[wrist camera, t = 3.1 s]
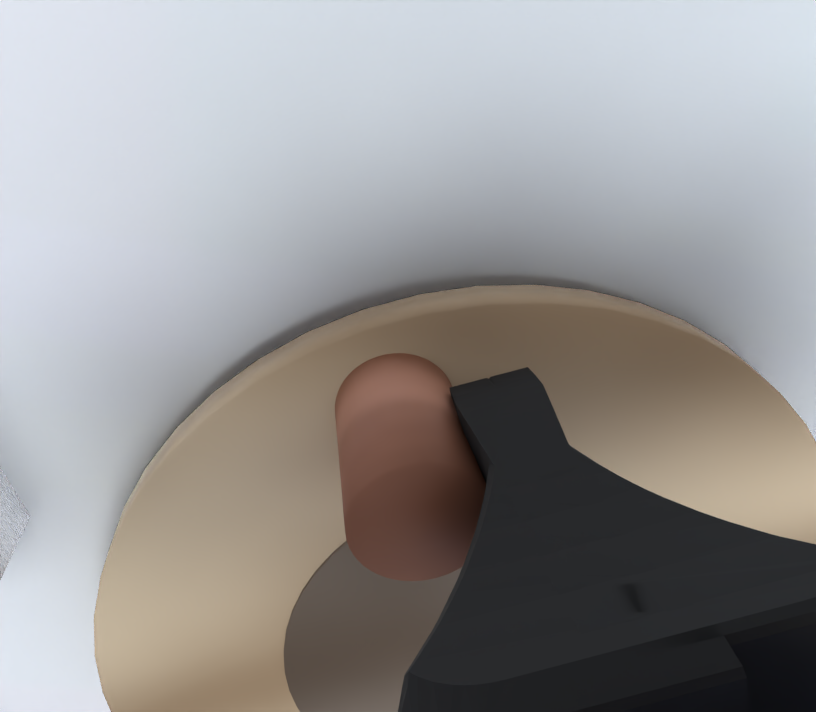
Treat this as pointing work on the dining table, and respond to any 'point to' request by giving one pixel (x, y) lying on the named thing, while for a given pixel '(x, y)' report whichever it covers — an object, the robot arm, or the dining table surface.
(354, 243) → the dining table surface
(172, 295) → the dining table surface
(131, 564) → the turntable
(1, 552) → the grey block
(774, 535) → the robot arm
